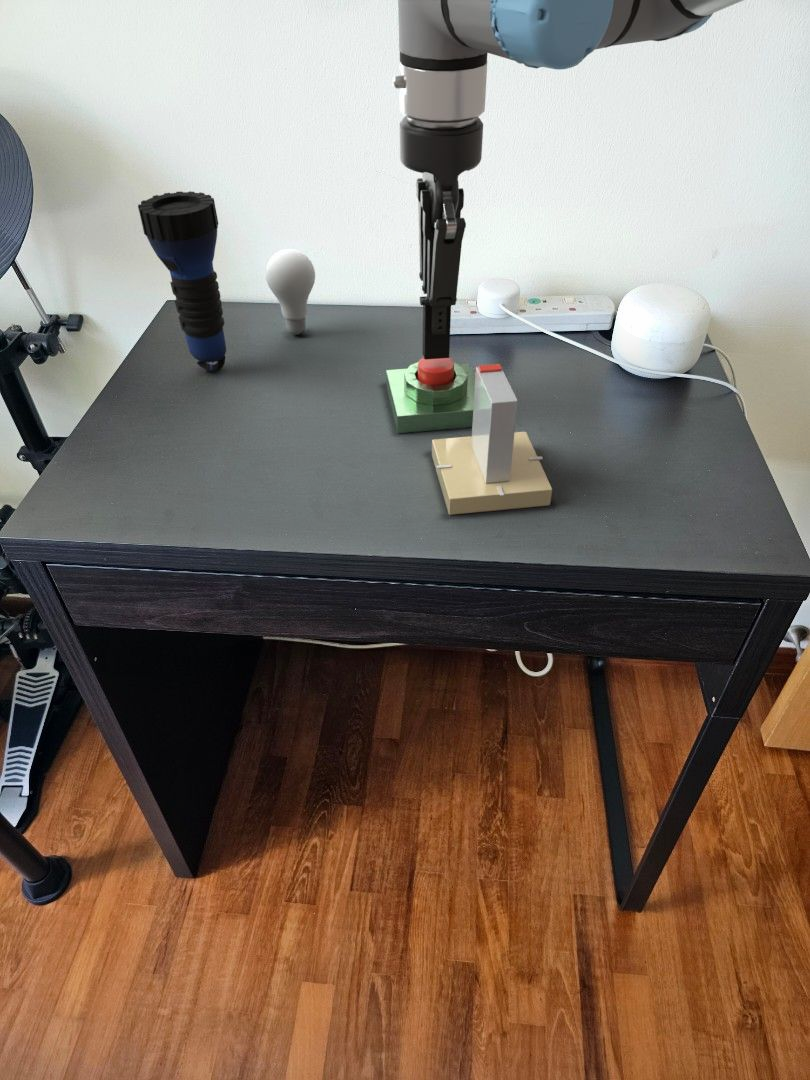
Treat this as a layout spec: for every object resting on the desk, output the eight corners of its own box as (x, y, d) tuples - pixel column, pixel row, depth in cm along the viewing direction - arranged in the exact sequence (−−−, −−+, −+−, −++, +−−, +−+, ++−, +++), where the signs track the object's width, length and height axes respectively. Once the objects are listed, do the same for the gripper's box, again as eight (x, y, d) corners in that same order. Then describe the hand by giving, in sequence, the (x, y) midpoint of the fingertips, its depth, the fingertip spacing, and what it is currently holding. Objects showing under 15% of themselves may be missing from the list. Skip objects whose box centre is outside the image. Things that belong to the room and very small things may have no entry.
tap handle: (509, 481, 76) (518, 398, 70) (485, 483, 76) (491, 400, 70) (493, 443, 81) (500, 362, 75) (470, 445, 81) (475, 364, 75)
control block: (487, 426, 87) (489, 394, 84) (397, 433, 86) (397, 401, 83) (469, 379, 94) (470, 349, 92) (386, 386, 93) (385, 356, 91)
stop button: (456, 385, 87) (457, 371, 85) (420, 388, 86) (420, 374, 85) (450, 367, 90) (450, 353, 88) (415, 370, 89) (415, 356, 88)
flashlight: (177, 357, 99) (140, 191, 86) (241, 352, 100) (214, 187, 87) (174, 390, 93) (134, 217, 80) (242, 384, 94) (213, 212, 81)
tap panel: (554, 507, 76) (557, 489, 75) (445, 517, 75) (446, 500, 74) (526, 444, 84) (528, 427, 83) (427, 453, 83) (428, 436, 82)
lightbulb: (266, 342, 102) (255, 258, 95) (282, 321, 106) (272, 239, 99) (311, 347, 101) (304, 262, 94) (325, 325, 105) (319, 243, 98)
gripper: (390, 100, 75) (393, 330, 91) (410, 139, 65) (410, 389, 81) (468, 97, 76) (458, 325, 91) (499, 135, 66) (482, 383, 82)
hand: (435, 355), depth 86 cm, fingers closed
